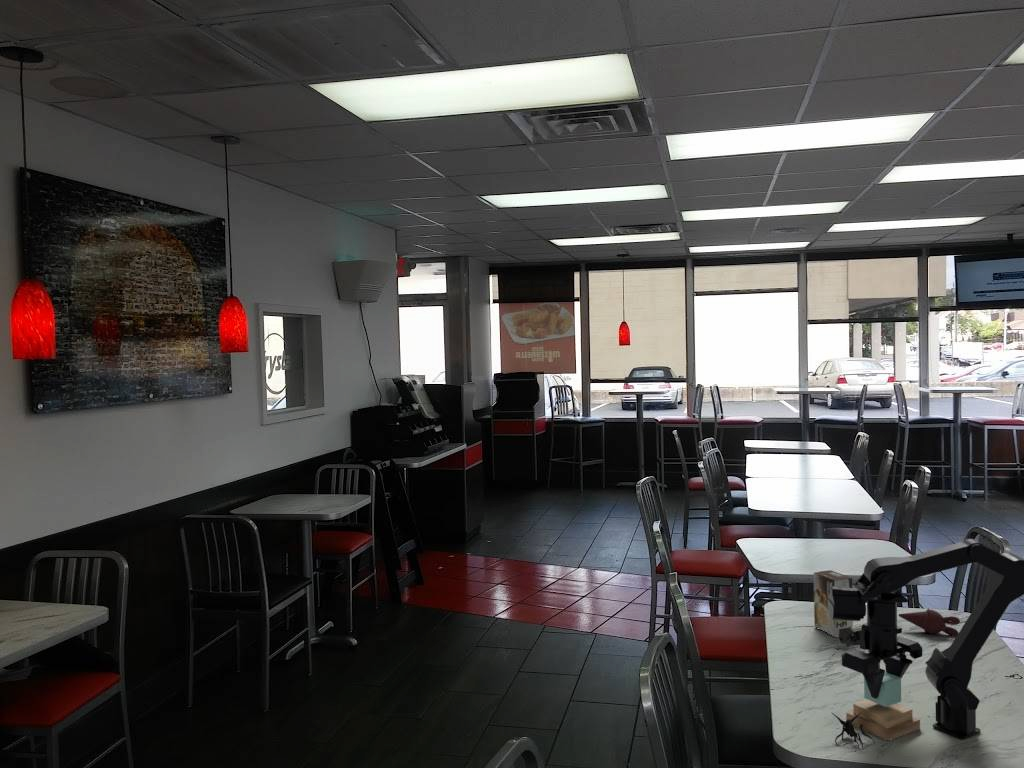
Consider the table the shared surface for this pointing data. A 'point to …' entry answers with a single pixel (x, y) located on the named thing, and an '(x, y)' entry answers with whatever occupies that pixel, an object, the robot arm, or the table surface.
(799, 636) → the table surface
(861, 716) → the plinth
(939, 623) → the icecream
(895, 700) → the teal block
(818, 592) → the coffee box
